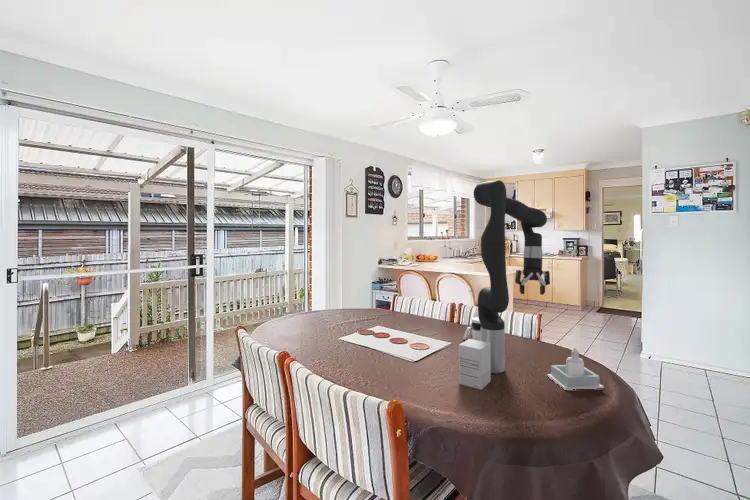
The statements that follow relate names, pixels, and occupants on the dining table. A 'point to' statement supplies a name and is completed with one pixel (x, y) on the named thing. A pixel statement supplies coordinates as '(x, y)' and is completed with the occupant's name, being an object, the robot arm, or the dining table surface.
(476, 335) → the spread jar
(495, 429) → the dining table surface
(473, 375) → the supplement box
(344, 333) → the dining table surface
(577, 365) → the eye dropper bottle
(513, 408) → the dining table surface
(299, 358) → the dining table surface
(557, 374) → the bottle stand
